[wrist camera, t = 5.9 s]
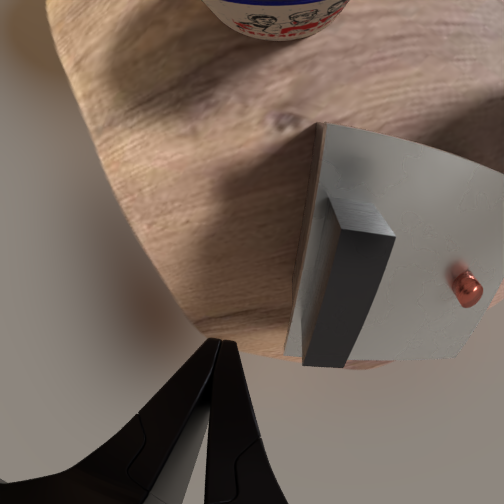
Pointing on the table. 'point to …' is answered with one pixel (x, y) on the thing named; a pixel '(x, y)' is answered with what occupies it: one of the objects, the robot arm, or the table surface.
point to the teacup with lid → (277, 16)
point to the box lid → (395, 251)
